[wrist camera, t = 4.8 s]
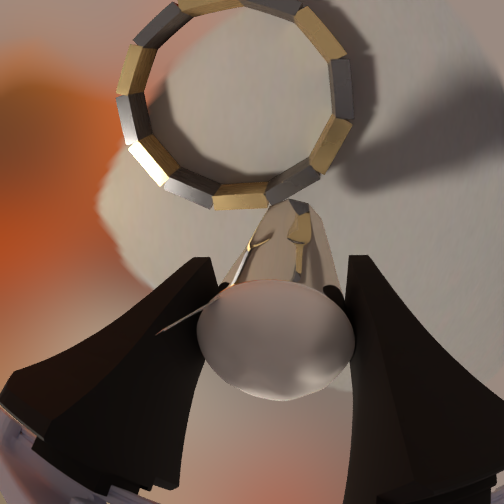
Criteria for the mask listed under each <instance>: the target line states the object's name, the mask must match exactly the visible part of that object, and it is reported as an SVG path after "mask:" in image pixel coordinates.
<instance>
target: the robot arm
mask: <svg viewBox="0 0 504 504" xmlns="http://www.w3.org/2000/svg"><path fill="white" fill-rule="evenodd" d="M217 288H218V284H217V281H216V277H215V273H214V270H213V266H212V262H211V259H210V257H193V258H192V259H191V260H189V261H188V262H187V263H185V264H184V265H183V266H182V267H180V268H179V269H178V270H177V271H176V272H175V273H173V274H172V275H171V276H170V277H169V278H168V279H166V280H165V281H164V282H163V283H162V284H160V285H159V286H158V287H157V288H156V289H155V290H153V291H152V292H151V293H150V294H149V295H147V296H146V297H145V298H144V299H142V300H141V301H140V302H139V303H137V304H136V305H135V306H134V307H132V308H131V309H130V310H129V311H127V312H126V313H125V314H123V315H122V316H121V317H119V318H118V319H116V320H115V321H114V322H112V323H111V324H109V325H108V326H106V327H105V328H103V329H102V330H100V331H99V332H97V333H96V334H94V335H92V336H90V337H89V338H87V339H85V340H84V341H82V342H80V343H78V344H77V345H75V346H73V347H71V348H70V349H67V350H66V351H64V352H61V353H59V354H57V355H55V356H53V357H51V358H49V359H46V360H44V361H41V362H39V363H37V364H34V365H31V366H28V367H25V368H23V369H20V370H16V371H14V372H13V374H12V375H11V376H10V378H9V379H8V381H7V383H6V384H5V386H4V388H3V390H2V392H1V393H0V405H1V406H2V407H3V408H4V409H5V410H6V411H7V412H9V413H10V414H11V415H12V416H13V417H14V418H15V419H16V420H18V421H19V422H20V423H21V424H23V425H21V424H20V423H19V422H17V421H16V420H15V419H14V418H12V417H11V416H10V415H9V414H8V413H7V412H5V411H4V410H3V409H2V408H1V407H0V491H1V493H2V495H3V496H4V498H5V500H6V502H7V504H106V502H108V503H110V504H159V503H156V502H154V501H151V500H149V499H146V498H144V497H141V496H139V495H138V492H139V489H140V488H142V489H144V490H147V491H151V489H152V486H153V485H155V486H158V487H161V488H164V489H167V490H173V489H175V488H177V487H179V479H180V468H181V459H182V452H183V445H184V439H185V433H186V428H187V422H188V417H189V412H190V408H191V404H192V399H193V395H194V391H195V388H196V384H197V381H198V378H199V376H200V373H201V370H202V367H203V365H204V362H205V358H204V356H203V354H202V352H201V349H200V346H199V343H198V339H197V323H198V320H199V317H200V315H201V313H202V311H203V310H202V311H200V312H198V313H197V314H195V315H193V316H192V317H190V318H188V319H186V320H185V321H183V322H181V323H180V324H178V325H176V326H175V327H173V328H171V329H170V330H168V331H166V332H165V333H163V334H161V335H159V336H158V337H155V335H156V334H157V333H159V332H160V331H161V330H163V329H164V328H166V327H168V326H169V325H171V324H173V323H175V322H176V321H178V320H180V319H182V318H183V317H185V316H187V315H188V314H190V313H192V312H194V311H195V310H197V309H199V308H200V307H202V306H204V305H206V304H207V303H208V302H209V300H210V299H211V297H212V296H213V294H214V293H215V291H216V290H217ZM345 304H346V307H347V311H348V315H349V318H350V322H351V325H352V328H353V331H354V336H355V349H354V353H353V355H352V357H351V359H350V369H351V378H352V388H353V421H352V437H351V450H350V461H349V468H348V476H347V482H346V489H345V495H344V500H343V504H504V485H502V486H500V487H498V488H497V489H496V490H495V491H494V492H492V493H491V487H493V486H495V485H496V483H497V477H496V474H497V473H499V472H501V471H503V470H504V400H502V399H501V398H500V397H498V396H497V395H496V394H494V393H493V392H492V391H491V390H489V389H488V388H487V387H486V386H485V385H483V384H482V383H481V382H480V381H478V380H477V379H476V378H475V377H474V376H473V375H471V374H470V373H469V372H468V371H467V370H466V369H465V368H464V367H463V366H462V365H461V364H460V363H458V362H457V361H456V360H455V359H454V358H453V357H452V356H451V355H450V354H449V353H448V352H447V351H446V350H445V349H444V348H443V347H442V346H441V345H440V344H439V343H438V342H437V341H436V340H435V339H434V338H433V337H432V336H431V334H430V333H429V332H428V331H427V330H426V329H425V328H424V327H423V325H422V324H421V323H420V322H419V321H418V320H417V318H416V317H415V316H414V315H413V314H412V312H411V311H410V310H409V309H408V307H407V306H406V305H405V304H404V302H403V301H402V300H401V298H400V297H399V296H398V295H397V293H396V292H395V291H394V289H393V288H392V287H391V285H390V284H389V283H388V281H387V280H386V279H385V277H384V276H383V275H382V273H381V272H380V270H379V269H378V268H377V266H376V265H375V263H374V262H373V261H372V259H371V258H370V257H369V256H368V255H349V261H348V273H347V284H346V294H345Z"/></svg>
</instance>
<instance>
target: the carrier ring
mask: <svg viewBox="0 0 504 504" xmlns="http://www.w3.org/2000/svg"><path fill="white" fill-rule="evenodd" d="M243 6H245V7H248V8H252V9H255V10H259V11H262V12H265V13H268V14H271V15H274V16H277V17H280V18H283V19H285V20H288V21H291V22H293V23H295V24H296V25H297V26H298V27H299V28H300V30H301V31H302V32H303V33H304V34H305V35H306V37H307V38H308V39H309V40H310V41H311V43H312V44H313V45H314V46H315V48H316V49H317V50H318V51H319V53H320V54H321V55H322V56H323V58H324V59H325V60H326V62H327V63H328V70H329V79H330V90H331V102H332V115H331V117H330V119H329V121H328V122H327V124H326V126H325V128H324V130H323V132H322V134H321V136H320V137H319V139H318V141H317V143H316V145H315V147H314V149H313V150H312V152H311V154H310V156H309V157H308V158H306V159H304V160H303V161H301V162H299V163H298V164H296V165H294V166H293V167H291V168H289V169H288V170H286V171H285V172H283V173H281V174H280V175H278V176H276V177H275V178H273V179H272V180H270V181H268V182H251V183H236V184H223V185H222V184H219V183H217V182H215V181H212V180H210V179H208V178H205V177H203V176H201V175H198V174H196V173H194V172H191V171H189V170H186V169H184V168H181V167H180V166H179V165H178V164H177V162H176V161H175V160H174V159H173V158H172V156H171V155H170V154H169V153H168V152H167V150H166V149H165V148H164V147H163V146H162V145H161V143H160V142H159V141H158V140H157V139H156V137H155V136H154V135H153V134H152V129H151V124H150V120H149V115H148V110H147V105H146V100H145V95H144V90H145V86H146V83H147V79H148V77H149V73H150V70H151V67H152V64H153V62H154V59H155V56H156V53H157V50H158V49H159V48H160V47H161V46H162V45H163V44H164V43H165V42H166V41H167V40H168V39H169V38H170V37H171V36H172V35H174V34H175V33H176V32H177V31H178V30H179V29H180V28H181V27H183V26H184V25H185V24H186V23H187V22H188V21H190V20H191V19H192V18H193V17H196V16H200V15H204V14H208V13H213V12H217V11H222V10H227V9H232V8H237V7H243ZM133 41H134V42H135V43H136V44H137V45H132V44H130V46H129V49H128V52H127V55H126V58H125V62H124V65H123V68H122V72H121V75H120V79H119V82H118V86H117V90H116V93H118V94H122V96H119V97H117V98H116V102H117V107H118V112H119V116H120V121H121V125H122V130H123V134H124V138H125V142H126V145H129V144H133V143H134V144H133V145H132V146H131V147H130V148H129V149H128V150H129V151H130V152H131V153H132V154H133V156H134V157H135V158H136V159H137V160H138V161H139V163H140V164H141V165H142V166H143V167H144V169H145V170H146V171H147V172H148V173H149V174H150V176H151V177H152V178H153V179H154V180H155V181H156V183H157V184H158V185H159V186H161V185H162V184H163V183H165V182H166V183H165V187H164V190H166V191H169V192H171V193H173V194H176V195H178V196H180V197H182V198H185V199H187V200H189V201H192V202H194V203H196V204H199V205H201V206H203V207H205V208H208V209H210V208H211V207H212V206H213V204H214V209H215V210H233V209H256V208H268V204H269V202H270V204H271V205H273V204H276V203H278V202H281V201H283V200H285V199H286V198H288V197H290V196H292V195H293V194H295V193H297V192H298V191H300V190H302V189H304V188H305V187H307V186H309V185H311V184H312V183H314V182H316V181H318V180H319V179H320V173H322V174H324V175H325V173H326V171H327V170H328V168H329V166H330V164H331V163H332V161H333V159H334V157H335V156H336V154H337V152H338V150H339V148H340V147H341V145H342V143H343V141H344V140H345V138H346V136H347V134H348V132H349V131H350V129H351V127H352V124H351V123H350V122H349V121H348V120H347V119H354V108H353V92H352V80H351V69H350V60H349V59H340V58H341V57H343V56H345V55H346V54H347V53H346V52H345V50H344V49H343V48H342V46H341V45H340V44H339V42H338V41H337V40H336V39H335V37H334V36H333V35H332V34H331V32H330V31H329V30H328V29H327V27H326V26H325V25H324V24H323V23H322V22H321V20H320V19H319V18H318V17H317V16H316V15H315V14H314V12H313V11H312V10H311V9H310V8H309V7H308V6H307V7H305V8H303V7H302V2H300V1H297V0H178V4H177V3H174V2H171V4H169V5H168V6H167V7H166V8H165V9H163V10H162V11H161V12H160V13H159V14H158V15H157V16H156V17H155V18H154V19H153V20H152V21H151V22H150V23H149V24H148V25H147V26H146V27H145V28H144V29H143V30H142V31H141V32H140V33H139V34H138V35H137V36H136V37H135V38H134V39H133Z"/></svg>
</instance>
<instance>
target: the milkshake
mask: <svg viewBox="0 0 504 504" xmlns="http://www.w3.org/2000/svg"><path fill="white" fill-rule="evenodd" d="M202 310H203V311H202ZM200 311H202V313H201V315H200V317H199V320H198V323H197V339H198V343H199V346H200V349H201V352H202V354H203V356H204V358H205V359H206V361H207V362H208V364H209V365H210V366H211V368H212V369H213V370H214V371H215V372H216V373H217V374H218V375H219V376H220V377H221V378H222V379H223V380H224V381H226V382H227V383H228V384H230V385H232V386H234V387H236V388H238V389H239V390H241V391H243V392H245V393H248V394H250V395H253V396H256V397H260V398H264V399H270V400H277V401H289V400H293V399H296V398H299V397H302V396H304V395H308V394H311V393H314V392H317V391H320V390H322V389H323V388H325V387H326V386H327V385H329V384H330V383H331V382H332V381H333V380H334V379H335V378H336V377H337V376H338V375H339V374H340V373H341V371H342V370H343V369H344V368H345V366H346V365H347V364H348V362H349V361H350V359H351V357H352V355H353V353H354V349H355V336H354V331H353V328H352V325H351V322H350V318H349V315H348V311H347V307H346V304H345V300H344V297H343V293H342V290H341V287H340V283H339V280H338V276H337V273H336V269H335V265H334V261H333V257H332V253H331V250H330V246H329V243H328V239H327V235H326V232H325V229H324V225H323V222H322V219H321V217H320V216H319V215H318V214H317V213H316V212H315V210H314V209H313V208H312V207H311V206H310V205H309V203H305V202H301V201H297V200H293V199H286V200H284V201H281V202H278V203H276V204H273V205H271V206H269V208H268V210H267V211H266V213H265V215H264V216H263V218H262V220H261V221H260V223H259V225H258V226H257V228H256V230H255V232H254V233H253V235H252V237H251V238H250V240H249V242H248V244H247V245H246V247H245V249H244V250H243V252H242V253H241V255H240V256H239V257H238V259H237V260H236V261H235V263H234V264H233V266H232V267H231V269H230V270H229V272H228V273H227V275H226V276H225V278H224V279H223V281H222V282H221V284H220V285H219V287H218V288H217V290H216V291H215V293H214V294H213V296H212V297H211V299H210V300H209V302H208V303H207V304H206V305H204V306H202V307H200V308H199V309H197V310H195V311H194V312H192V313H190V314H188V315H187V316H185V317H183V318H182V319H180V320H178V321H176V322H175V323H173V324H171V325H169V326H168V327H166V328H164V329H163V330H161V331H160V332H159V333H157V334H156V335H155V337H158V336H159V335H161V334H163V333H165V332H166V331H168V330H170V329H171V328H173V327H175V326H176V325H178V324H180V323H181V322H183V321H185V320H186V319H188V318H190V317H192V316H193V315H195V314H197V313H198V312H200Z"/></svg>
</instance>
